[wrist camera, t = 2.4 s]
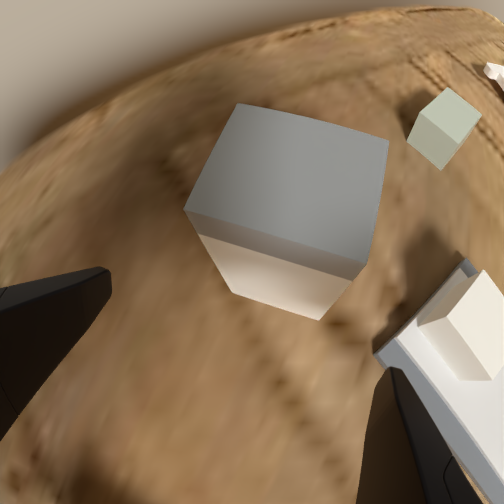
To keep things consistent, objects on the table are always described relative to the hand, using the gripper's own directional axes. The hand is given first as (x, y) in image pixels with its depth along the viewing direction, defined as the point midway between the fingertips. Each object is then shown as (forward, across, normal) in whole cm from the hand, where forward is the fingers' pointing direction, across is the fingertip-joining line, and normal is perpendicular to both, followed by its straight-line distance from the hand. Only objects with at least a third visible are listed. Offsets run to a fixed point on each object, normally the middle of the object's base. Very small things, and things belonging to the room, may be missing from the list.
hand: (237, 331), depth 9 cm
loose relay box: (+24, -10, -7) cm, 27 cm away
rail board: (+8, -19, +8) cm, 22 cm away
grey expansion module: (+12, 0, +4) cm, 13 cm away
